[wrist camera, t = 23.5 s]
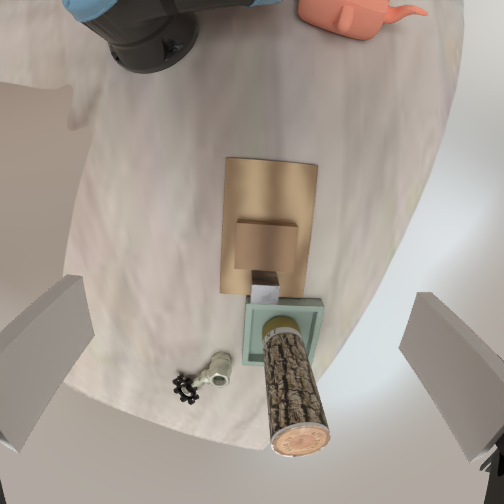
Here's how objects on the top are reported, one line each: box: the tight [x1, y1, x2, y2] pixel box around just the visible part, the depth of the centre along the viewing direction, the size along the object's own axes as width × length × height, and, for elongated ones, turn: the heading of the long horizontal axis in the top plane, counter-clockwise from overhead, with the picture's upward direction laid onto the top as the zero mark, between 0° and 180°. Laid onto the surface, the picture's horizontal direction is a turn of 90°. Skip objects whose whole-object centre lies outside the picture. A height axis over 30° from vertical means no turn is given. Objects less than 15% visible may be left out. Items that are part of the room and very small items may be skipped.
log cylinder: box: [262, 317, 330, 457], centre depth 39 cm, size 7×7×25 cm
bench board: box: [220, 158, 318, 298], centre depth 45 cm, size 14×22×1 cm, turn 176°
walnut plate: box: [234, 219, 299, 272], centre depth 44 cm, size 9×7×3 cm
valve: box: [173, 352, 232, 405], centre depth 51 cm, size 7×7×12 cm
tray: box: [242, 296, 324, 367], centre depth 50 cm, size 13×13×3 cm
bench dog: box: [250, 270, 280, 305], centre depth 45 cm, size 4×3×6 cm
